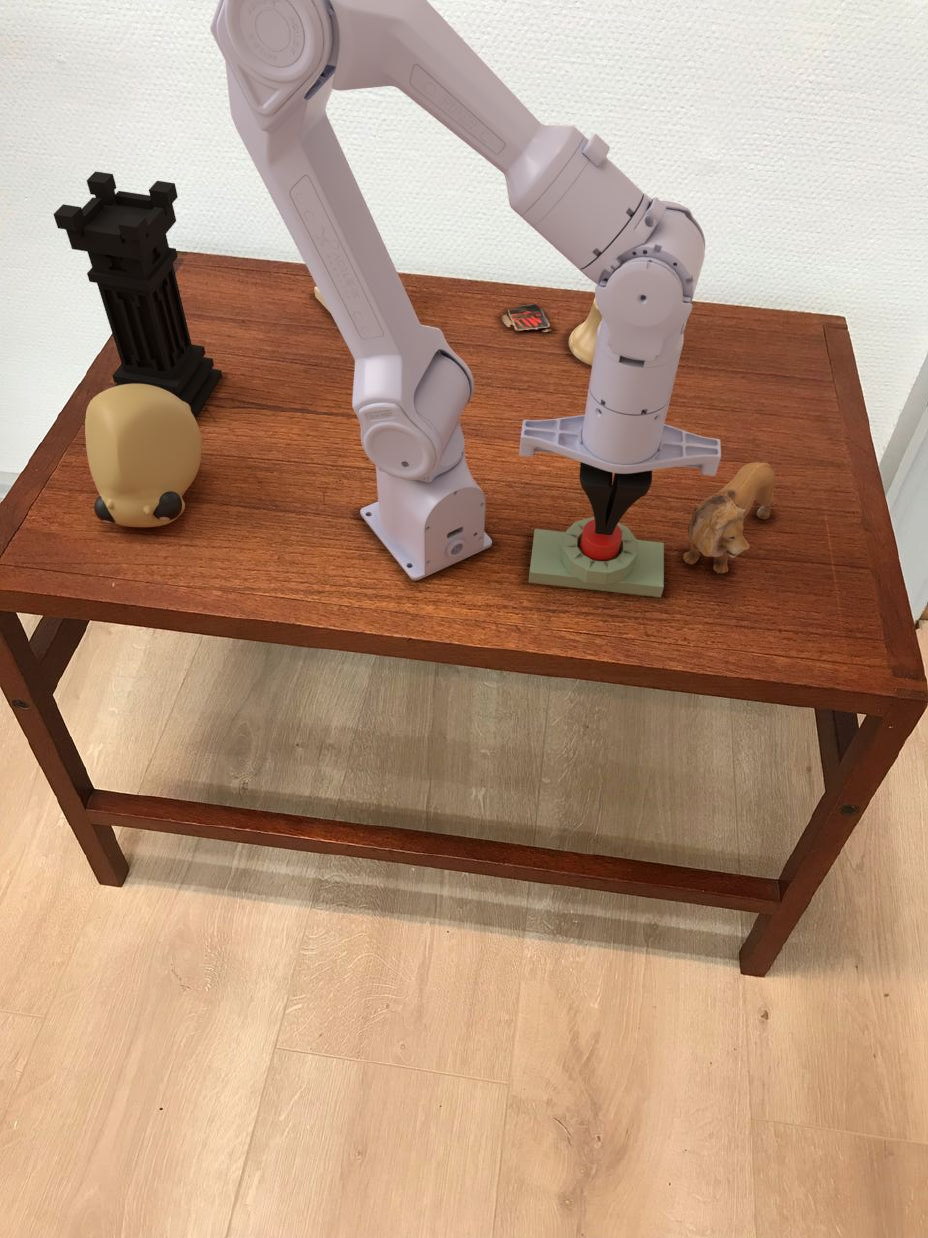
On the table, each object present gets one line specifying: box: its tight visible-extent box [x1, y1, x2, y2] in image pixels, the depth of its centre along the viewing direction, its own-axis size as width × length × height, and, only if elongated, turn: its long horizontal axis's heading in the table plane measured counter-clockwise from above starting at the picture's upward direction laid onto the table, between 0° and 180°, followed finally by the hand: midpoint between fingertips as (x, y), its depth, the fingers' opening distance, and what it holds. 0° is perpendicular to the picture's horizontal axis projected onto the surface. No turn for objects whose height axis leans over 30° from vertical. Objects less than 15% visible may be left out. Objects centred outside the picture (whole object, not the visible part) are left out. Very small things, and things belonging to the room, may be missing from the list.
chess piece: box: [52, 170, 223, 420], centre depth 88 cm, size 8×8×20 cm
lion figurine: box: [682, 461, 776, 574], centre depth 81 cm, size 15×5×9 cm, turn 151°
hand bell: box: [568, 297, 602, 367], centre depth 96 cm, size 8×8×16 cm
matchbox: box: [501, 303, 553, 333], centre depth 104 cm, size 5×5×1 cm
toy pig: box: [84, 384, 203, 528], centre depth 83 cm, size 10×12×11 cm
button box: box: [527, 516, 665, 598], centre depth 81 cm, size 11×6×3 cm, turn 83°
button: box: [580, 519, 622, 561], centre depth 80 cm, size 3×3×2 cm
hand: (604, 525), depth 79 cm, fingers closed
